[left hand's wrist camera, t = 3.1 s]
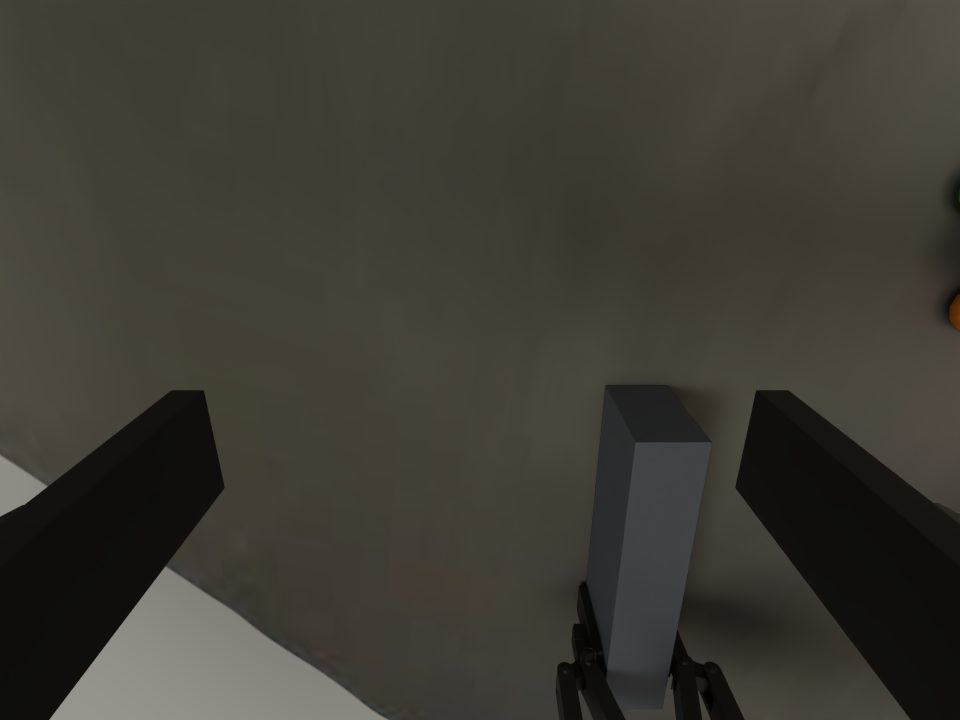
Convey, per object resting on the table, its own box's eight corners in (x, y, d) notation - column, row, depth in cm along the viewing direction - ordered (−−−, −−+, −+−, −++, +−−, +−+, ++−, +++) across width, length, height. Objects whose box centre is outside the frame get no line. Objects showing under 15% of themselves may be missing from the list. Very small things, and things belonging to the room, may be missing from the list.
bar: (605, 385, 39) (635, 442, 32) (667, 385, 39) (712, 442, 32) (582, 620, 48) (602, 709, 40) (633, 620, 48) (662, 709, 40)
